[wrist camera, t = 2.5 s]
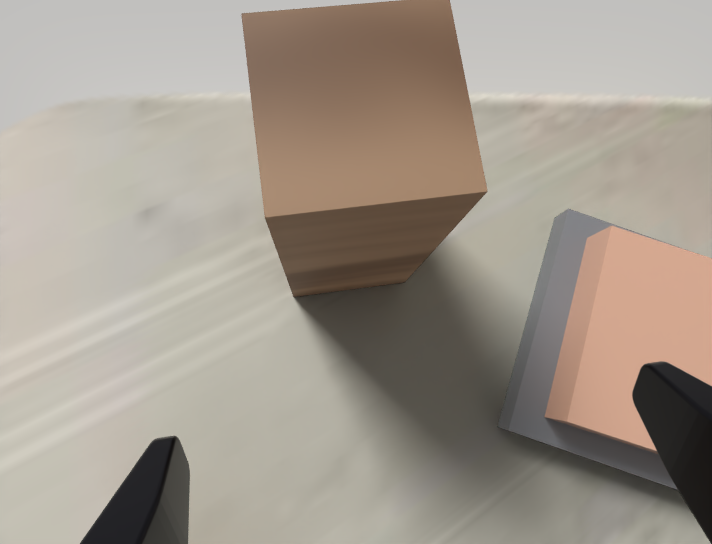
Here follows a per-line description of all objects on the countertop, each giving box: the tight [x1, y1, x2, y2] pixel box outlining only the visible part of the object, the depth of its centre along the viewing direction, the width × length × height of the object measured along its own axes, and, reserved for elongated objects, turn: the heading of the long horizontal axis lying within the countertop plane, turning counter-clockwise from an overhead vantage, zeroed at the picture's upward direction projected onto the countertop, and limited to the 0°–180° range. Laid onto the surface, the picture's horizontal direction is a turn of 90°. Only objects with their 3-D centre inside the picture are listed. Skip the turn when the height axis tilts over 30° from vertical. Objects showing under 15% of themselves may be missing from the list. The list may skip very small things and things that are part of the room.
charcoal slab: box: [497, 209, 688, 490], centre depth 23 cm, size 10×10×2 cm
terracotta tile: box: [545, 226, 712, 454], centre depth 21 cm, size 8×8×2 cm
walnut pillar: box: [242, 0, 487, 297], centre depth 18 cm, size 5×5×12 cm
